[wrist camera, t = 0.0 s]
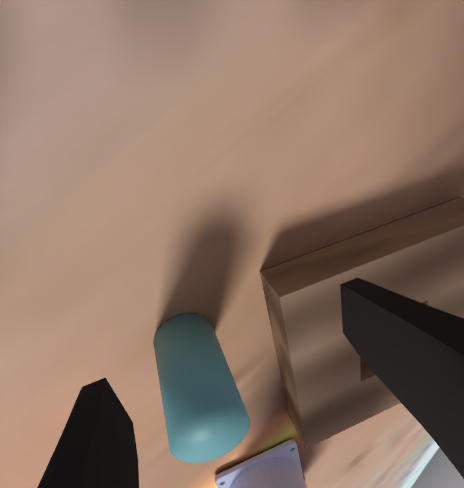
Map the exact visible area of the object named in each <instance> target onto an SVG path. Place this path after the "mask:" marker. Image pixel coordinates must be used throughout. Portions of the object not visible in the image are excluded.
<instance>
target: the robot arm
mask: <svg viewBox="0 0 464 488" xmlns="http://www.w3.org/2000/svg"><path fill="white" fill-rule="evenodd" d="M340 291H341V309H342V327H343V333H344V335H345V336H346V338H347V339H348V341H349V342H350V344H351V345H352V346H353V348H354V349H355V351H356V352H357V353H358V355H359V356H360V357H361V359H362V360H363V361H364V362H365V363H366V365H367V366H368V367H369V368H370V369H371V370H372V371H373V372H374V374H375V375H376V376H377V377H378V378H379V379H380V380H381V381H382V382H383V383H384V385H385V386H386V387H387V388H388V389H389V390H390V391H391V392H392V393H393V394H394V395H395V397H396V398H397V399H398V400H399V401H400V402H401V403H402V404H403V405H404V406H405V407H406V408H407V410H408V411H409V412H410V413H411V414H412V415H413V416H414V417H415V418H416V419H417V420H418V422H419V423H420V424H421V425H422V426H423V427H424V429H425V430H426V431H427V432H428V433H429V434H430V436H431V437H432V438H433V439H434V440H435V442H436V443H437V444H438V446H439V447H440V448H441V450H442V451H443V452H444V453H445V455H446V456H447V457H448V459H449V460H450V461H451V462H452V464H453V465H454V466H455V468H456V469H457V470H458V471H459V473H460V474H461V476H462V477H463V478H464V318H461V317H458V316H455V315H453V314H450V313H447V312H444V311H442V310H439V309H436V308H433V307H431V306H428V305H426V304H423V303H420V302H418V301H415V300H413V299H410V298H408V297H405V296H403V295H400V294H398V293H395V292H393V291H390V290H388V289H385V288H383V287H381V286H378V285H376V284H373V283H371V282H368V281H365V280H363V279H360V278H355V279H353V280H350V281H348V282H345V283H342V284H340ZM215 482H216V485H217V487H218V488H308V487H307V485H306V483H305V481H304V478H303V473H302V468H301V463H300V458H299V453H298V448H297V444H296V442H295V440H293V439H291V440H288V441H286V442H284V443H282V444H280V445H278V446H276V447H274V448H272V449H269V450H267V451H265V452H263V453H261V454H259V455H257V456H255V457H253V458H251V459H248V460H246V461H244V462H242V463H240V464H238V465H236V466H234V467H232V468H230V469H227V470H225V471H223V472H221V473H219V474H217V475H216V476H215ZM37 488H139V475H138V457H137V449H136V442H135V435H134V428H133V422H132V420H131V419H130V417H129V415H128V414H127V412H126V411H125V409H124V407H123V406H122V404H121V402H120V401H119V399H118V397H117V396H116V394H115V393H114V391H113V389H112V388H111V386H110V384H109V383H108V381H107V379H106V378H103V379H101V380H98V381H96V382H93V383H91V384H88V385H86V386H83V387H82V389H81V391H80V393H79V395H78V397H77V400H76V402H75V405H74V407H73V409H72V412H71V414H70V416H69V419H68V421H67V423H66V426H65V428H64V430H63V433H62V435H61V437H60V439H59V442H58V444H57V446H56V448H55V451H54V453H53V455H52V457H51V459H50V462H49V464H48V466H47V468H46V470H45V472H44V475H43V477H42V479H41V481H40V483H39V485H38V487H37Z"/></svg>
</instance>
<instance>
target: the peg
mask: <svg viewBox="0 0 464 488" xmlns="http://www.w3.org/2000/svg"><path fill="white" fill-rule="evenodd" d="M154 349H155V356H156V363H157V369H158V376H159V382H160V389H161V395H162V402H163V408H164V415H165V421H166V428H167V434H168V441H169V447H170V451H171V453H172V455H173V456H174V457H175V458H176V459H178V460H180V461H182V462H186V463H202V462H207V461H211V460H214V459H216V458H219V457H221V456H223V455H225V454H226V453H228V452H230V451H231V450H232V449H234V448H235V447H236V446H237V445H238V444H239V443H240V442H241V441H242V440H243V439H244V437H245V436H246V434H247V432H248V429H249V426H250V420H249V416H248V414H247V411H246V409H245V406H244V404H243V401H242V399H241V396H240V394H239V391H238V389H237V386H236V384H235V381H234V379H233V376H232V374H231V371H230V369H229V367H228V364H227V362H226V359H225V357H224V354H223V352H222V349H221V347H220V344H219V342H218V339H217V337H216V334H215V332H214V329H213V327H212V324H211V323H210V322H209V320H207V319H206V318H205V317H203V316H201V315H197V314H181V315H178V316H175V317H173V318H171V319H169V320H167V321H166V322H165V323H163V324H162V325H161V326H160V328H159V329H158V330H157V332H156V334H155V337H154Z"/></svg>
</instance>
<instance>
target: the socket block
mask: <svg viewBox="0 0 464 488" xmlns="http://www.w3.org/2000/svg"><path fill="white" fill-rule="evenodd" d="M260 274H261V279H262V284H263V289H264V294H265V299H266V304H267V309H268V314H269V319H270V324H271V328H272V333H273V338H274V343H275V348H276V353H277V358H278V363H279V368H280V373H281V378H282V383H283V387H284V392H285V397H286V402H287V407H288V412H289V417H290V419H291V420H292V422H293V424H294V426H295V428H296V430H297V432H298V434H299V436H300V438H301V440H302V441H303V443H304V445H305V447H306V448H309V447H311V446H313V445H315V444H317V443H319V442H321V441H323V440H325V439H327V438H329V437H331V436H333V435H335V434H337V433H339V432H341V431H344V430H346V429H348V428H350V427H352V426H354V425H356V424H358V423H360V422H362V421H364V420H366V419H368V418H370V417H372V416H374V415H377V414H379V413H381V412H383V411H385V410H387V409H389V408H391V407H393V406H395V405H397V404H399V403H401V402H400V401H399V400H398V399H397V398H396V397H395V395H394V394H393V393H392V392H391V391H390V390H389V389H388V388H387V387H386V386H385V385H384V383H383V382H382V381H381V380H380V379H379V378H378V377H377V376H376V375H375V374H374V372H373V371H372V370H371V369H370V368H369V367H368V366H367V365H366V363H365V362H364V361H363V360H362V359H361V357H360V356H359V355H358V353H357V352H356V351H355V349H354V348H353V346H352V345H351V344H350V342H349V341H348V339H347V338H346V336H345V335H344V333H343V327H342V309H341V291H340V284H342V283H345V282H348V281H350V280H353V279H355V278H360V279H363V280H365V281H368V282H371V283H373V284H376V285H378V286H381V287H383V288H385V289H388V290H390V291H393V292H395V293H398V294H400V295H403V296H405V297H408V298H410V299H413V300H415V301H418V302H420V303H423V304H426V305H428V306H431V307H433V308H436V309H439V310H442V311H444V312H447V313H450V314H453V315H455V316H458V317H461V318H464V198H461V197H459V198H456V199H454V200H451V201H448V202H446V203H443V204H440V205H437V206H435V207H432V208H429V209H427V210H424V211H421V212H419V213H416V214H413V215H411V216H408V217H405V218H403V219H400V220H397V221H394V222H392V223H389V224H386V225H384V226H381V227H378V228H376V229H373V230H370V231H368V232H365V233H362V234H359V235H357V236H354V237H351V238H349V239H346V240H343V241H341V242H338V243H335V244H333V245H330V246H327V247H325V248H322V249H319V250H316V251H314V252H311V253H308V254H306V255H303V256H300V257H298V258H295V259H292V260H290V261H287V262H284V263H282V264H279V265H276V266H273V267H271V268H268V269H265V270H263V271H260Z"/></svg>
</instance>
